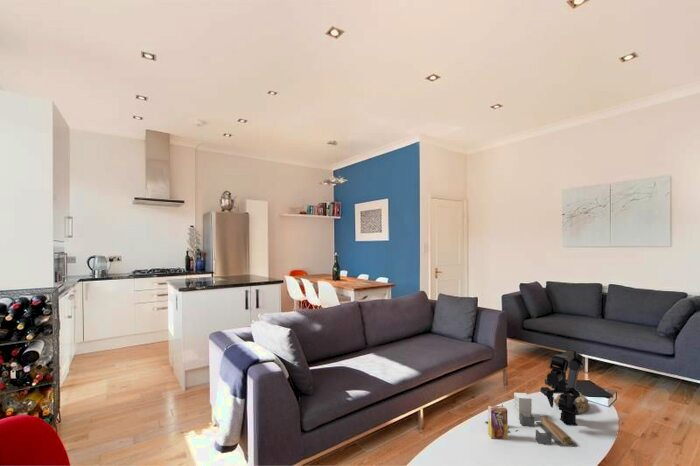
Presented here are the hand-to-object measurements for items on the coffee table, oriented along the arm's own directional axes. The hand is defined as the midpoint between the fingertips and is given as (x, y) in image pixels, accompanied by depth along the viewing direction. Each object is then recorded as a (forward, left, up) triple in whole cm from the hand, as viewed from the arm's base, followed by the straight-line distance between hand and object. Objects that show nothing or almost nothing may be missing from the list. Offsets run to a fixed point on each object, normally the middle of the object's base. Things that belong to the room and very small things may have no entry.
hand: (559, 407), depth 182 cm
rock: (-24, -26, -13) cm, 37 cm away
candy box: (+38, +8, -13) cm, 41 cm away
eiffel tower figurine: (+31, -2, -13) cm, 34 cm away
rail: (+5, +4, -12) cm, 14 cm away
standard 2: (+16, +12, -12) cm, 23 cm away
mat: (+5, +4, -12) cm, 14 cm away
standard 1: (+16, -4, -12) cm, 21 cm away
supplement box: (+14, -13, -13) cm, 23 cm away
